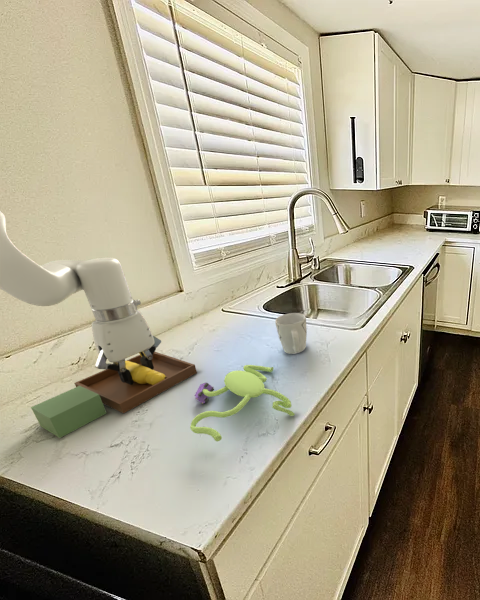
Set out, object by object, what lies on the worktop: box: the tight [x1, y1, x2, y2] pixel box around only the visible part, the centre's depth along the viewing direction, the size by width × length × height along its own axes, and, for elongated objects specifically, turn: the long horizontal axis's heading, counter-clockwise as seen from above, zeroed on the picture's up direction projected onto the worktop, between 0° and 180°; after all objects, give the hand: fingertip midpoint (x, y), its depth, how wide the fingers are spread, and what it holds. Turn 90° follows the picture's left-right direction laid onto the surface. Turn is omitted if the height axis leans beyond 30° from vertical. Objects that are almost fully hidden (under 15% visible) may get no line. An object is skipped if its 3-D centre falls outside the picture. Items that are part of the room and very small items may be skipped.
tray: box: [74, 351, 198, 414], centre depth 82 cm, size 19×17×3 cm
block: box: [30, 386, 108, 439], centre depth 69 cm, size 8×8×5 cm
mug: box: [274, 312, 308, 355], centre depth 94 cm, size 11×8×10 cm
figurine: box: [189, 364, 295, 442], centre depth 73 cm, size 18×27×6 cm
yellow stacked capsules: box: [125, 360, 167, 385], centre depth 82 cm, size 17×4×4 cm, turn 65°
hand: (139, 377), depth 82 cm, fingers closed on yellow stacked capsules, 4 cm apart
